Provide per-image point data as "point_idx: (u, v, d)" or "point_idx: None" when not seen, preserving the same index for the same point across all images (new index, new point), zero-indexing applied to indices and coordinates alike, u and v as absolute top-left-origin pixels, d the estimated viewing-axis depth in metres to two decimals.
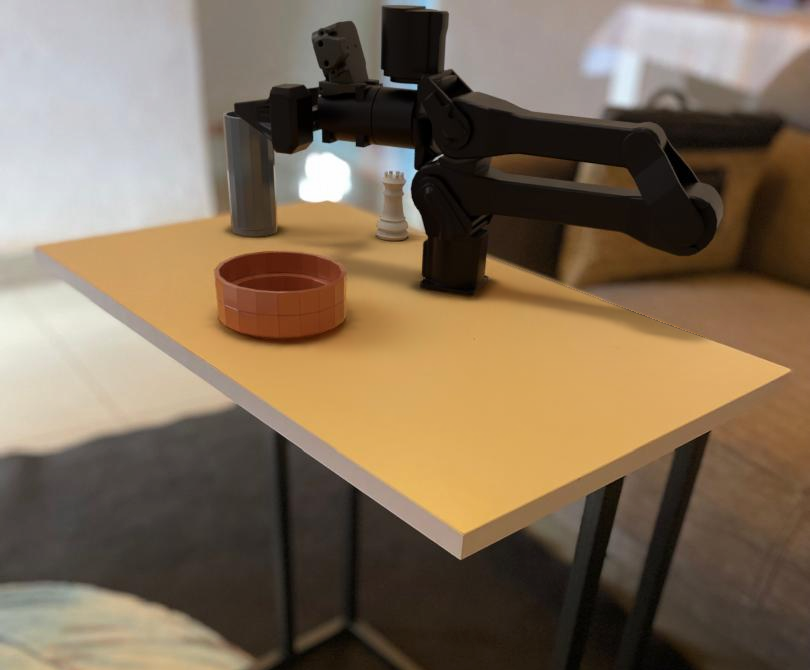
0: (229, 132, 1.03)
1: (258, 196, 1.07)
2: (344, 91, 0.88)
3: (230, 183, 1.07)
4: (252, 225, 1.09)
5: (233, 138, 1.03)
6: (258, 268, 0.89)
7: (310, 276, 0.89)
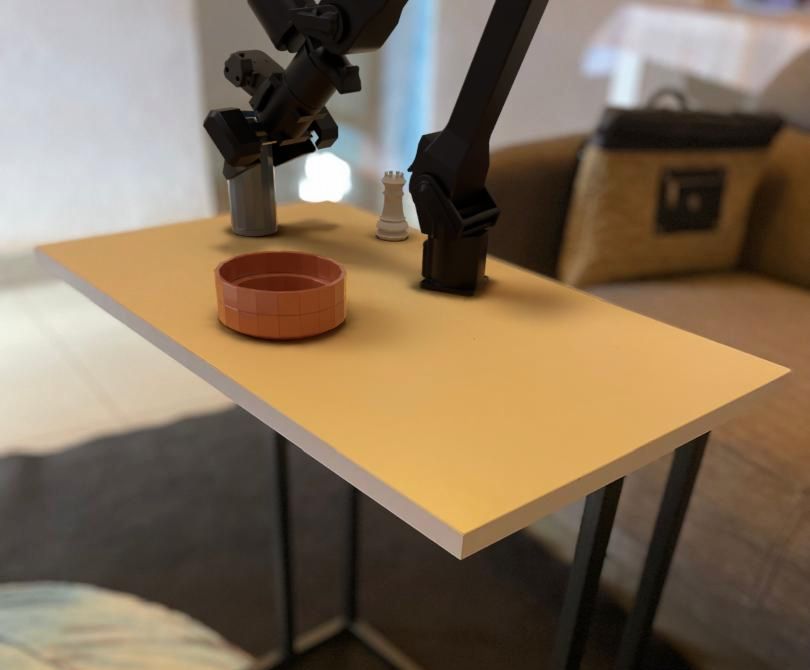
0: None
1: (258, 195, 1.07)
2: (264, 90, 0.97)
3: (230, 183, 1.07)
4: (252, 224, 1.09)
5: None
6: (258, 268, 0.89)
7: (310, 276, 0.89)
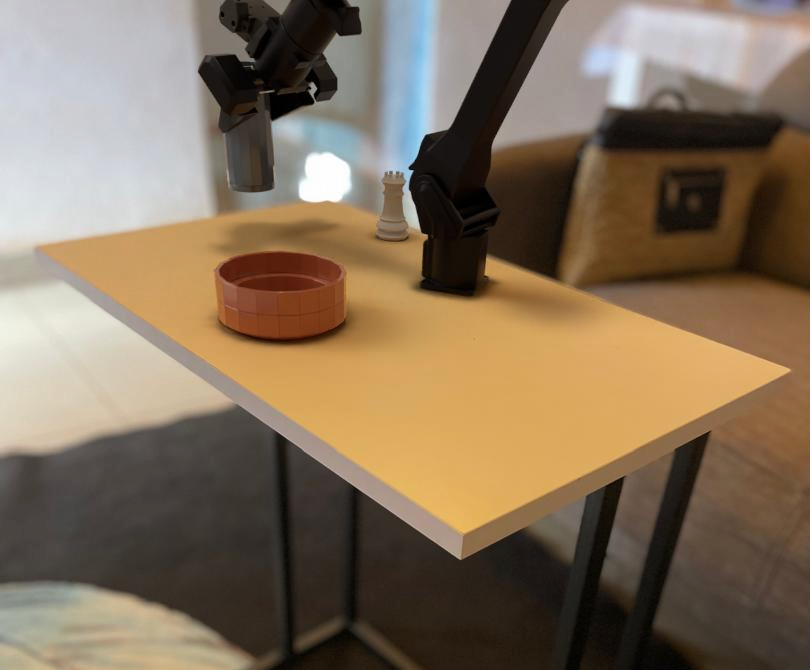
0: None
1: (255, 149, 1.03)
2: (261, 35, 0.94)
3: (226, 136, 1.03)
4: (249, 180, 1.05)
5: None
6: (258, 268, 0.89)
7: (310, 276, 0.89)
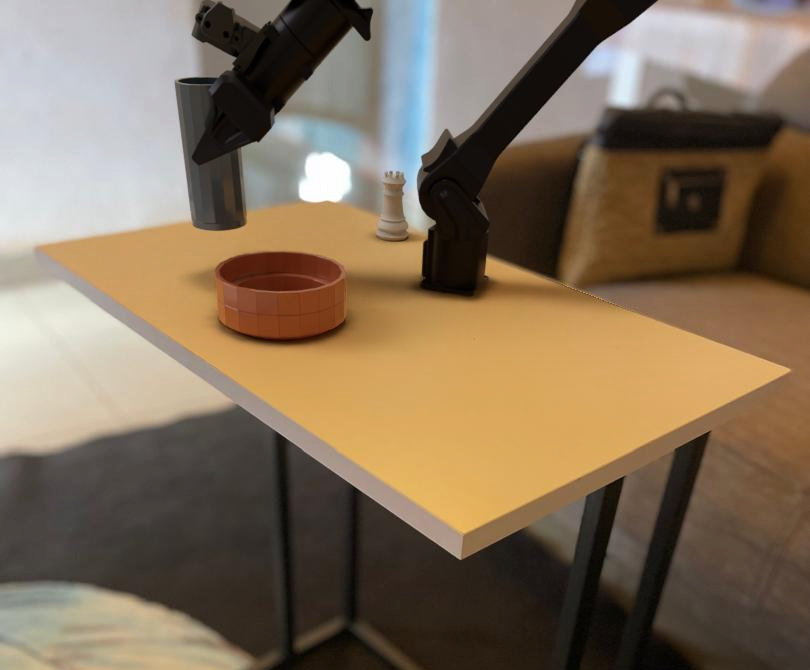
0: (198, 104, 0.83)
1: (236, 178, 0.89)
2: (257, 45, 0.81)
3: (199, 169, 0.87)
4: (233, 215, 0.90)
5: (205, 111, 0.84)
6: (258, 268, 0.89)
7: (310, 276, 0.89)
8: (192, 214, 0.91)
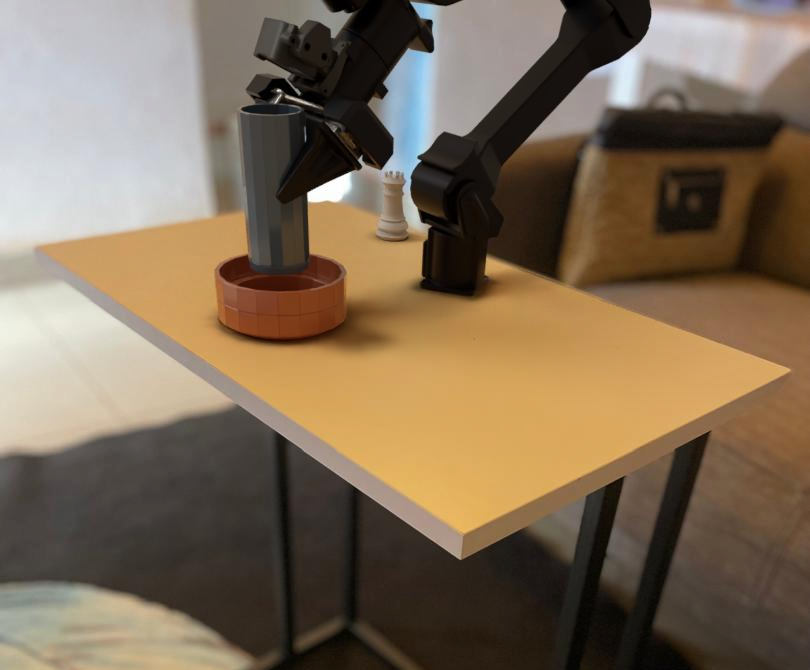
0: (284, 136, 0.74)
1: (308, 213, 0.81)
2: (342, 66, 0.74)
3: (281, 208, 0.77)
4: (307, 253, 0.82)
5: (291, 143, 0.75)
6: None
7: (310, 276, 0.89)
8: (263, 260, 0.80)
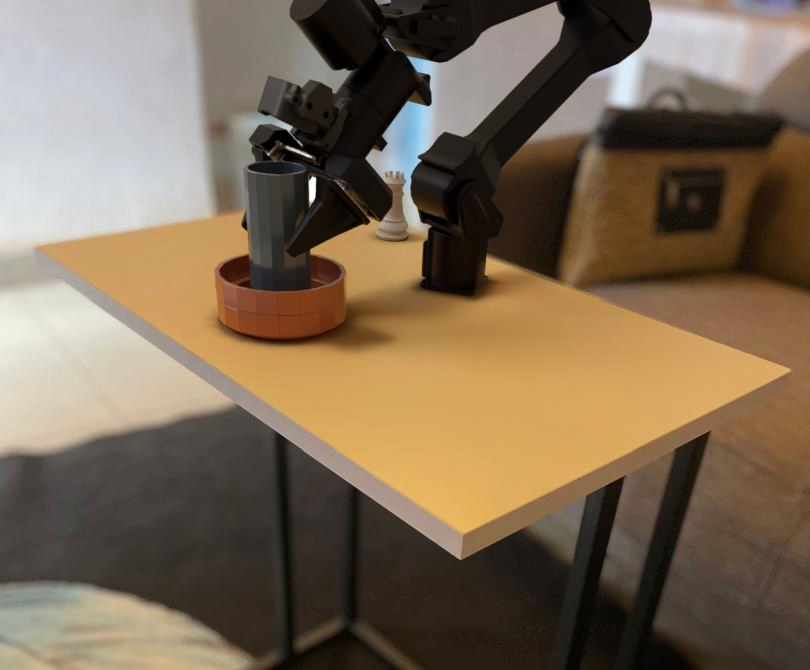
0: (289, 194, 0.77)
1: None
2: (343, 122, 0.77)
3: (285, 261, 0.80)
4: None
5: (296, 200, 0.78)
6: None
7: None
8: None
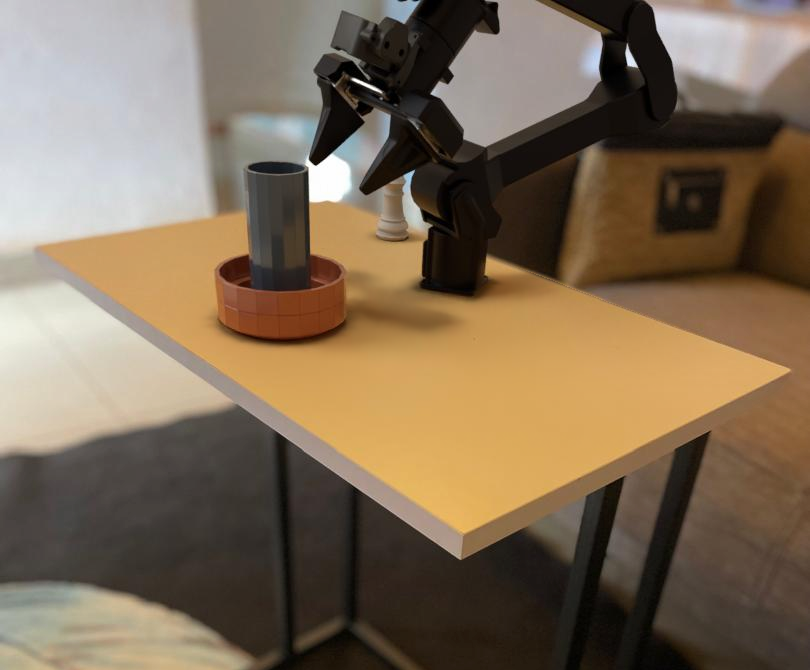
0: (289, 194, 0.77)
1: None
2: (414, 57, 0.78)
3: (285, 261, 0.80)
4: None
5: (296, 200, 0.78)
6: None
7: None
8: None
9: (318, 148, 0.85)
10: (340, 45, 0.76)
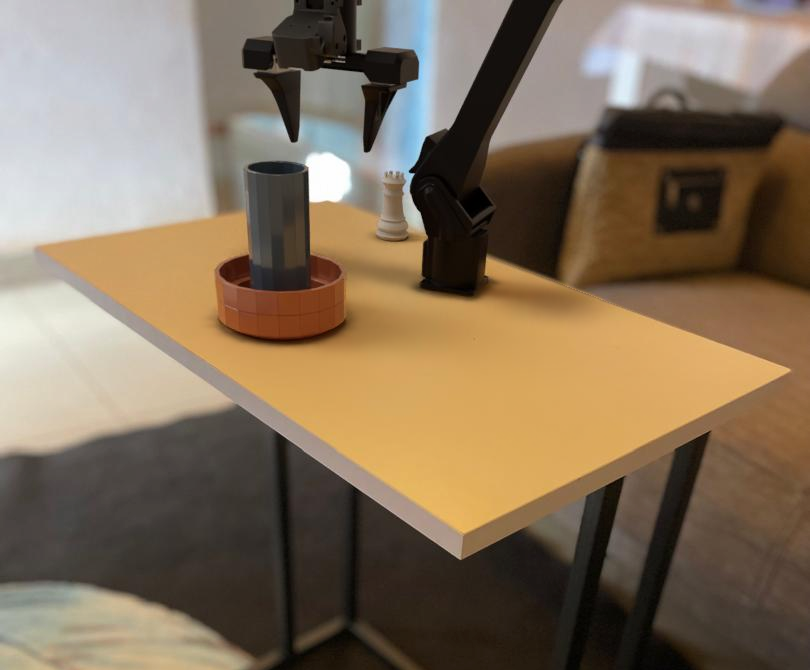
0: (289, 194, 0.77)
1: None
2: (341, 20, 0.85)
3: (285, 261, 0.80)
4: None
5: (296, 200, 0.78)
6: None
7: None
8: None
9: (293, 128, 0.95)
10: (292, 65, 0.84)
